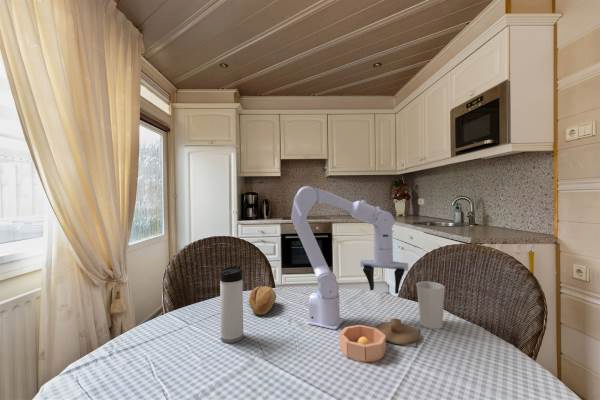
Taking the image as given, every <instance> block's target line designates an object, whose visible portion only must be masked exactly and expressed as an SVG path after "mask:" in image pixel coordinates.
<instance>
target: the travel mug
mask: <svg viewBox="0 0 600 400" xmlns="http://www.w3.org/2000/svg"><path fill="white" fill-rule="evenodd" d="M219 273H220V274H219V276H220V277H219V278H220V281H219V282H220V283H219V285H220V287H219V289H220V291H219V292H220V295H219V297H220V339H221V341H222V342H223V343H226V344H233V343H237V342H239V341H241V340H243V338H244V293H243V292H244V290H243V288H244V287H243V284H244V283H243V281H244V280H243V268H242V266H241V265H237V264H236V265H234V266H228V267H226V268H223V269H221V270H220V272H219Z"/></svg>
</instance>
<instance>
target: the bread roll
mask: <svg viewBox="0 0 600 400" xmlns="http://www.w3.org/2000/svg"><path fill="white" fill-rule="evenodd" d="M276 299H277V295H276V291H275V290H274V289H273V288H272V287H269V286H267V285H265V286H263V285H261V286H256V287H254V288H253V289H252V290H251V292H250V293H249V297H248V304H249V308H250V309H251V310H252V311H251V312H253V313H254V314H255V315H259V316H263V315H266V314H267V313H268V312H269V311H270V310H271V309H272V307H273V305H274V303H275V302H276Z"/></svg>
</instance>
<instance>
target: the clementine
mask: <svg viewBox="0 0 600 400" xmlns="http://www.w3.org/2000/svg"><path fill="white" fill-rule="evenodd" d="M358 343H360V344H364V345H366V344H370V342H369V340H368V339H367V338H366V337H360V338H359V340H358Z"/></svg>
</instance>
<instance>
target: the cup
mask: <svg viewBox="0 0 600 400" xmlns="http://www.w3.org/2000/svg"><path fill="white" fill-rule="evenodd" d="M415 285H416V292H417V302H418V312H419V323H420V325H422V326H423V327H425V328H428V329H434V330H436V329H438V330H439V329H441V328H443V327H444V325H443V324H444V322H443V317H444V303H445V302H444V301H445V291H446V290H445V288H446V286H445V285H443V284H441V283H439V282H434V281H418V282H417V283H416V284H415Z"/></svg>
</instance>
